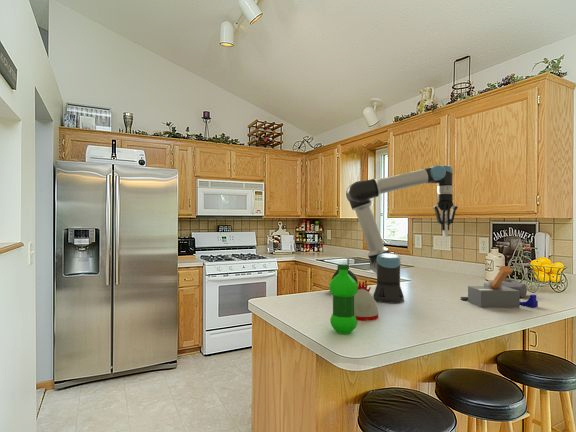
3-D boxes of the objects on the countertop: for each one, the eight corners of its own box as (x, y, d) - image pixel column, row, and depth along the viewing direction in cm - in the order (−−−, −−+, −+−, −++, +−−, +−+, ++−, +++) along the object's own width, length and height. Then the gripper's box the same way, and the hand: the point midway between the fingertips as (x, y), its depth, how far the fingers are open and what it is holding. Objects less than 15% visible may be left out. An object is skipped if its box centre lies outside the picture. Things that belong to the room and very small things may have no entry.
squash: (363, 284, 189) (355, 262, 199) (338, 287, 186) (331, 264, 196) (356, 297, 200) (348, 275, 209) (332, 300, 196) (325, 277, 206)
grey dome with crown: (343, 311, 154) (343, 278, 155) (374, 312, 154) (374, 278, 154) (348, 320, 140) (347, 284, 141) (381, 321, 140) (381, 284, 140)
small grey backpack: (529, 295, 189) (489, 289, 203) (529, 280, 189) (489, 275, 203) (522, 299, 178) (480, 293, 193) (521, 283, 178) (480, 278, 193)
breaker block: (481, 307, 160) (480, 285, 161) (468, 301, 172) (467, 281, 173) (519, 307, 160) (519, 285, 160) (503, 301, 172) (503, 281, 172)
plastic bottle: (331, 326, 133) (331, 262, 133) (359, 328, 130) (358, 263, 130) (327, 334, 123) (326, 265, 123) (356, 337, 120) (356, 266, 120)
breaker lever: (490, 290, 165) (503, 271, 154) (487, 285, 167) (500, 266, 157) (498, 290, 165) (512, 271, 154) (495, 285, 167) (509, 266, 157)
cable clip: (537, 307, 163) (537, 294, 163) (533, 308, 160) (533, 295, 160) (510, 302, 173) (510, 290, 173) (506, 303, 170) (505, 291, 171)
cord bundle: (463, 300, 175) (463, 297, 175) (460, 299, 178) (460, 296, 178) (504, 300, 175) (504, 298, 175) (500, 299, 178) (500, 296, 178)
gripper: (436, 193, 186) (436, 236, 185) (460, 193, 185) (460, 236, 185) (430, 194, 193) (430, 236, 193) (453, 194, 193) (453, 236, 193)
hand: (445, 236), depth 189 cm, fingers closed
